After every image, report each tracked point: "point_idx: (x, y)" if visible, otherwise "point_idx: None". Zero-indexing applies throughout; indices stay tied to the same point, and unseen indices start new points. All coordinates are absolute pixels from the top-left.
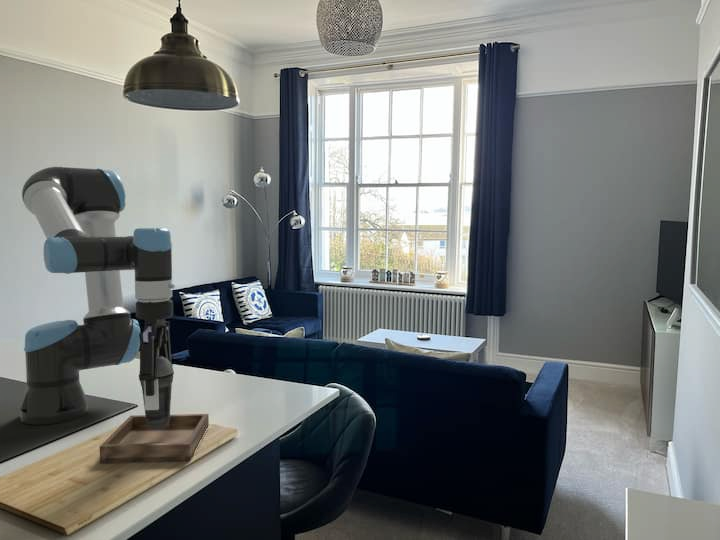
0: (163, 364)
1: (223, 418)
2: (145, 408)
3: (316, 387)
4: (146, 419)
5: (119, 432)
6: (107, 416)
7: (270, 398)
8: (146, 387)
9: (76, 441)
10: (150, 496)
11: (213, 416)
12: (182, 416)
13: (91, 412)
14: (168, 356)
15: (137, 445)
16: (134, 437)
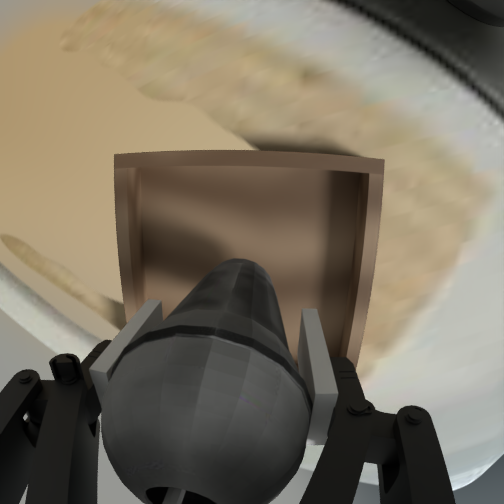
0: (147, 493)
1: (401, 382)
2: (146, 304)
3: (485, 468)
4: (211, 271)
5: (230, 165)
6: (470, 73)
7: (475, 428)
8: (85, 363)
9: (290, 32)
10: (30, 304)
11: (422, 359)
12: (351, 330)
13: (490, 34)
14: (381, 486)
15: (119, 259)
16: (272, 197)
